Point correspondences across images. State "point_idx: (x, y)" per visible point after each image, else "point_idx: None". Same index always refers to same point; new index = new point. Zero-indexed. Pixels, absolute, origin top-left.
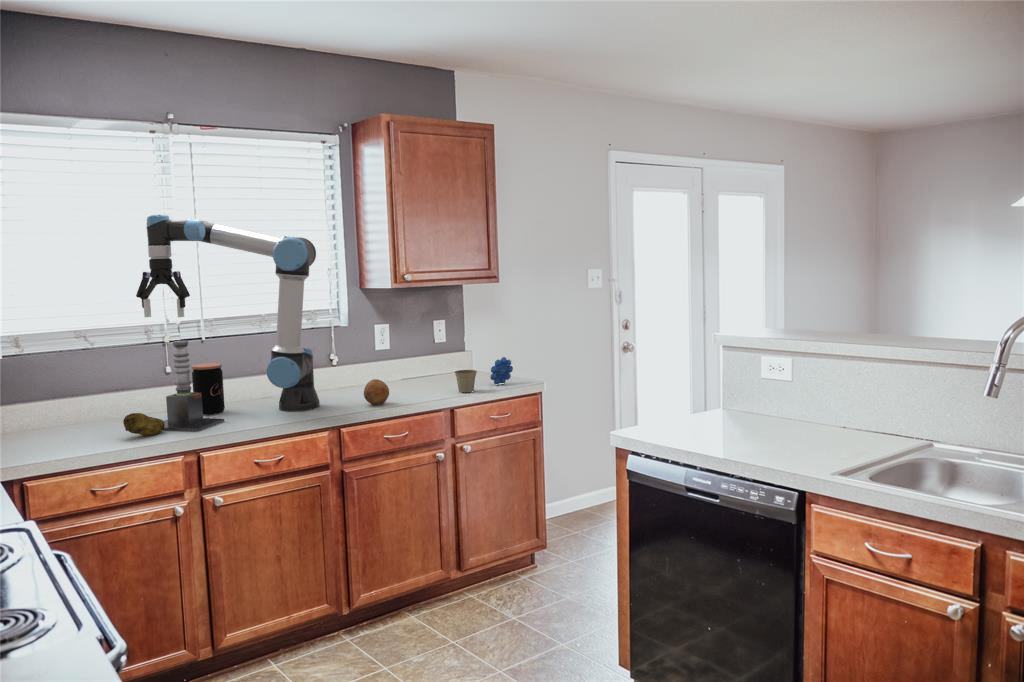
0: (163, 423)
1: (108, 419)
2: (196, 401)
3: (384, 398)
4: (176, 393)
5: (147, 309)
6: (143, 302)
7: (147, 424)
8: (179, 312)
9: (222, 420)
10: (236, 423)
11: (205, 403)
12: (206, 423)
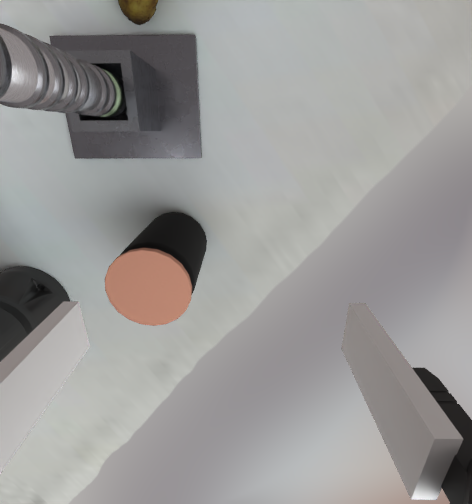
0: (119, 3)
1: (364, 140)
2: None
3: None
4: (114, 81)
5: (369, 360)
6: (447, 416)
7: None
8: (40, 325)
9: (74, 149)
10: (38, 143)
11: (158, 219)
12: None
